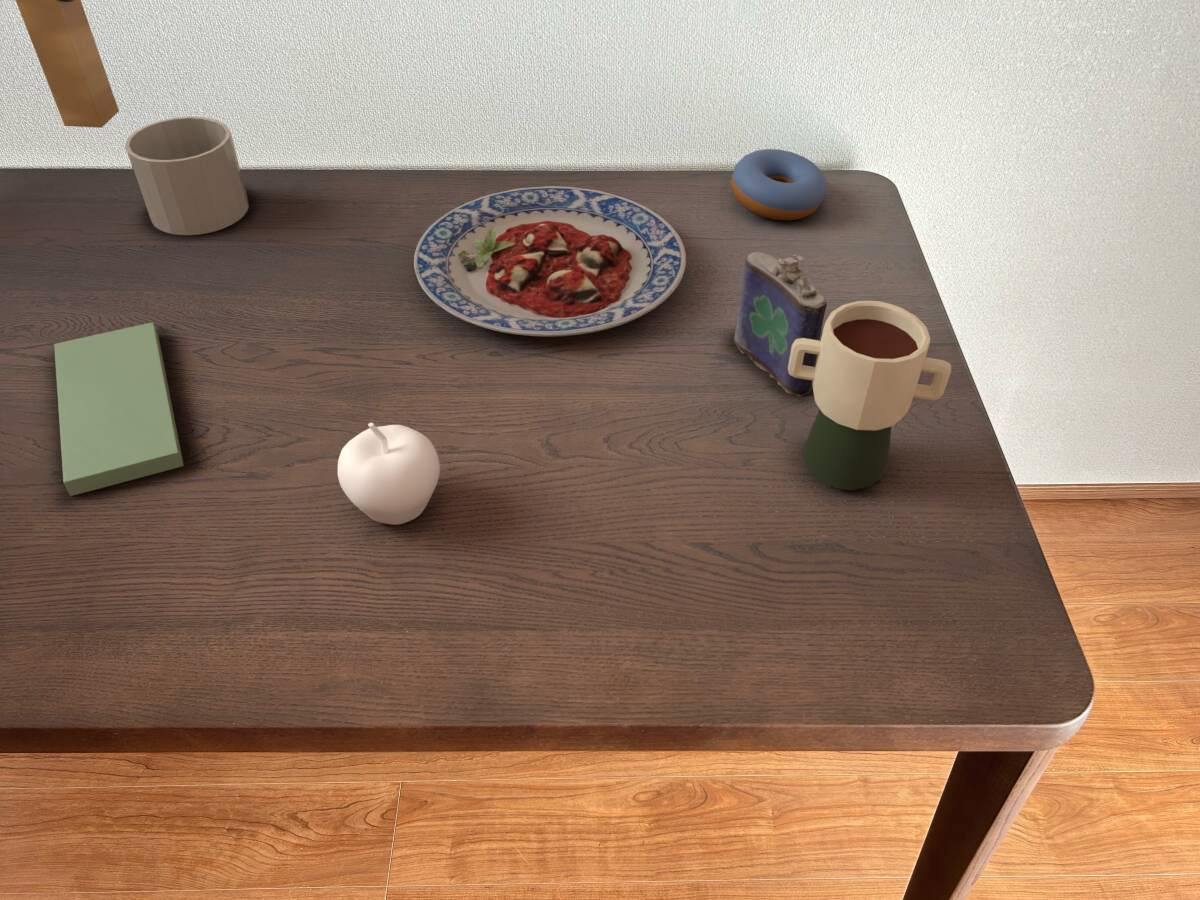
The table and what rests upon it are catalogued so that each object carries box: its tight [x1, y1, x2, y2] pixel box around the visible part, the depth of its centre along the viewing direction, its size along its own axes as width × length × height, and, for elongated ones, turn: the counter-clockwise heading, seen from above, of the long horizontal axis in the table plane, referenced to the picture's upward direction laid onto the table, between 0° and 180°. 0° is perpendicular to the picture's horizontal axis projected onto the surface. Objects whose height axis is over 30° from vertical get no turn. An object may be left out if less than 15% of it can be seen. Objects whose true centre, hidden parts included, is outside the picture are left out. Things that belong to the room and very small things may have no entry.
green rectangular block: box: [53, 321, 184, 497], centre depth 78 cm, size 18×8×2 cm, turn 24°
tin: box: [124, 116, 250, 236], centre depth 98 cm, size 10×10×8 cm
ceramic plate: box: [413, 185, 687, 337], centre depth 93 cm, size 26×26×3 cm
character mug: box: [788, 300, 952, 491], centre depth 70 cm, size 11×7×13 cm, turn 76°
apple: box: [337, 422, 441, 526], centre depth 68 cm, size 7×7×8 cm
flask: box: [734, 251, 828, 398], centre depth 80 cm, size 9×3×11 cm, turn 31°
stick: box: [15, 0, 120, 129], centre depth 71 cm, size 3×3×14 cm
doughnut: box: [730, 148, 827, 222], centre depth 102 cm, size 10×10×5 cm
